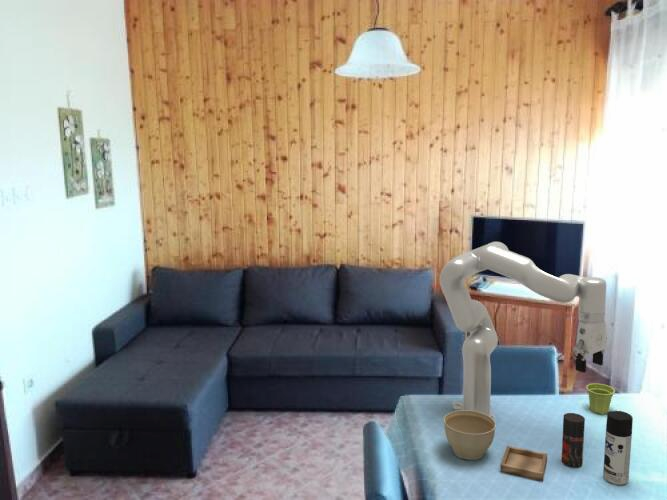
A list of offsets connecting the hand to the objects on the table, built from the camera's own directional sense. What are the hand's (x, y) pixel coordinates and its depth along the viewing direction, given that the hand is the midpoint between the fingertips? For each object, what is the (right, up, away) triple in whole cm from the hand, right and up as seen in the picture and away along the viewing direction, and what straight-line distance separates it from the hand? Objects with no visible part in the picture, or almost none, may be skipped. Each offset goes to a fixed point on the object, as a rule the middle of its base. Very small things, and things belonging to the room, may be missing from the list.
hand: (589, 367), depth 175 cm
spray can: (0, -29, -16) cm, 33 cm away
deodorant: (-9, -28, -7) cm, 30 cm away
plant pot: (+16, -22, +26) cm, 37 cm away
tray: (-24, -28, -9) cm, 38 cm away
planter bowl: (-39, -28, 0) cm, 48 cm away
